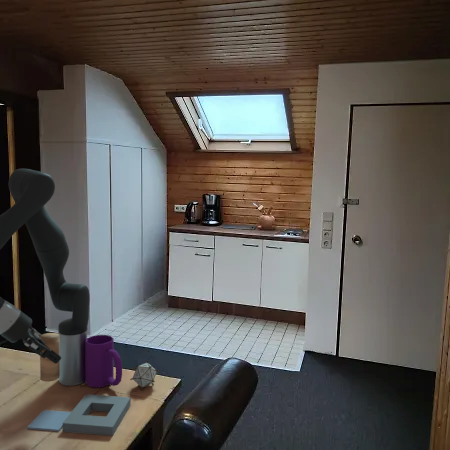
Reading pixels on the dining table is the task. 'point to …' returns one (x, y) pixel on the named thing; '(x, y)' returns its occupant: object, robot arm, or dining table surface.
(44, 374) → the peg
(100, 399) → the board
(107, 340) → the mug
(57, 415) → the pad
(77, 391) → the dining table surface
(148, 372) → the game die
